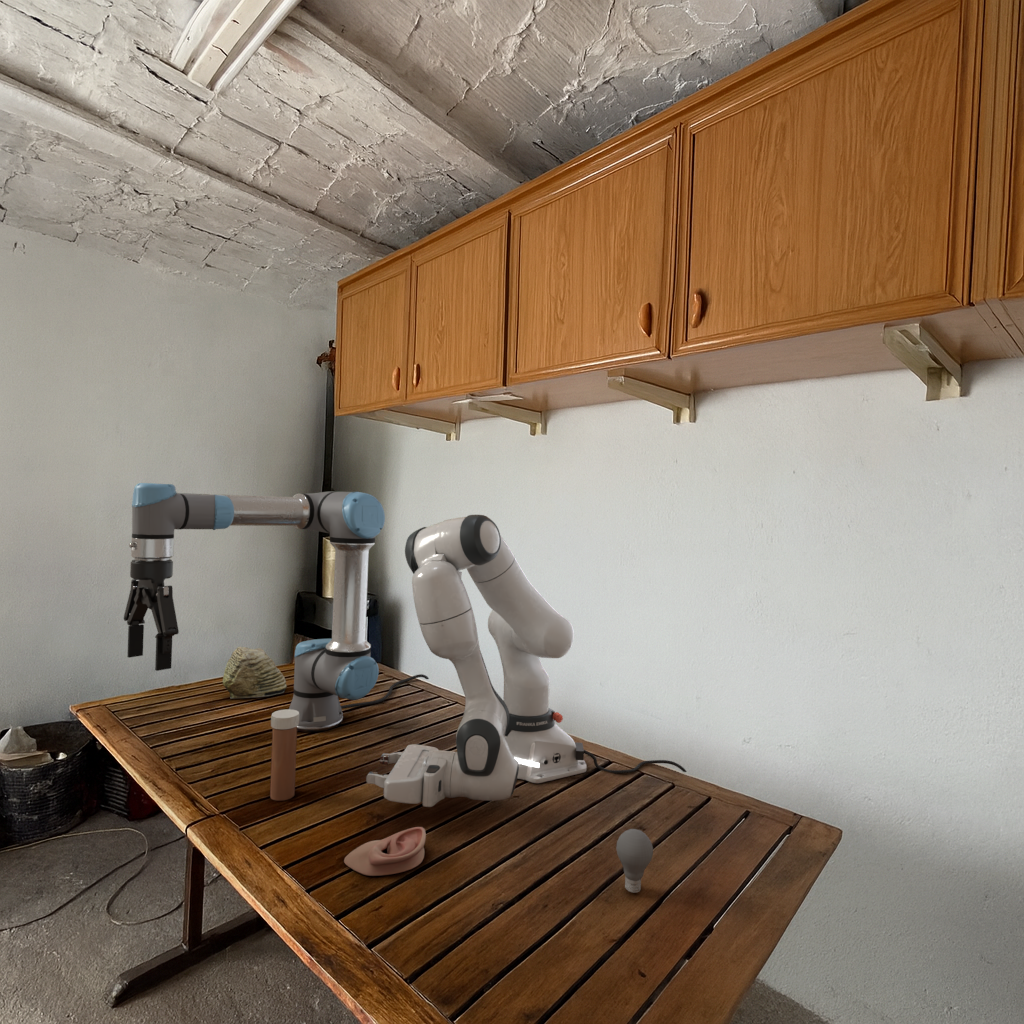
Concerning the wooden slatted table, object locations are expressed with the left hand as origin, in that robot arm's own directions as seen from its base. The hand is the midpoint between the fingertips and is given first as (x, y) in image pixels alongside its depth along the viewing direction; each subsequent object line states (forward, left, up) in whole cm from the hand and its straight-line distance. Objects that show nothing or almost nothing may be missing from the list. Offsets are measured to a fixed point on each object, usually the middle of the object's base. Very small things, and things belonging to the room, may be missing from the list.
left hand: (148, 662), depth 129 cm
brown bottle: (-20, +19, -28) cm, 39 cm away
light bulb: (-41, +90, -28) cm, 103 cm away
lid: (-20, +19, -11) cm, 29 cm away
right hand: (-31, +35, -21) cm, 51 cm away
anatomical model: (-19, +53, -28) cm, 63 cm away
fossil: (-50, -47, -28) cm, 74 cm away
